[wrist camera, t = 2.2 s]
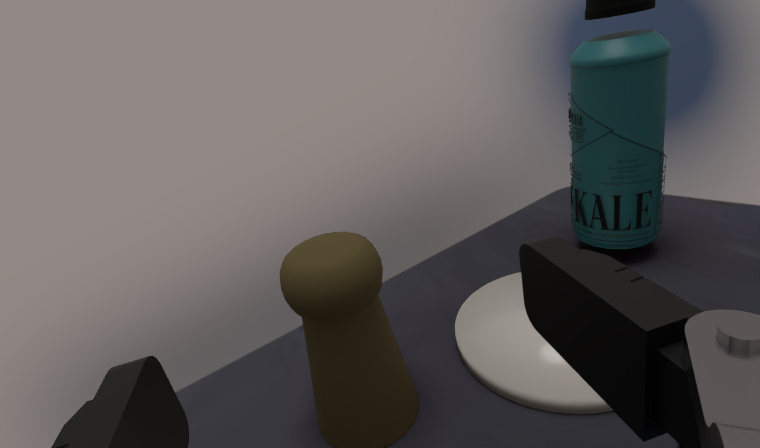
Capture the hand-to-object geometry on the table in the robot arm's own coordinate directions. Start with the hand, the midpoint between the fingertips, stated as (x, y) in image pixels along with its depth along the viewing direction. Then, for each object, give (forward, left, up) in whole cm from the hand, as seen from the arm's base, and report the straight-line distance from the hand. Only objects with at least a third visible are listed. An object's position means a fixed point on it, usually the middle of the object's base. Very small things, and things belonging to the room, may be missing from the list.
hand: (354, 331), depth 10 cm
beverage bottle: (+23, +21, -14) cm, 34 cm away
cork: (0, +12, -14) cm, 19 cm away
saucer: (+13, +13, -14) cm, 23 cm away
